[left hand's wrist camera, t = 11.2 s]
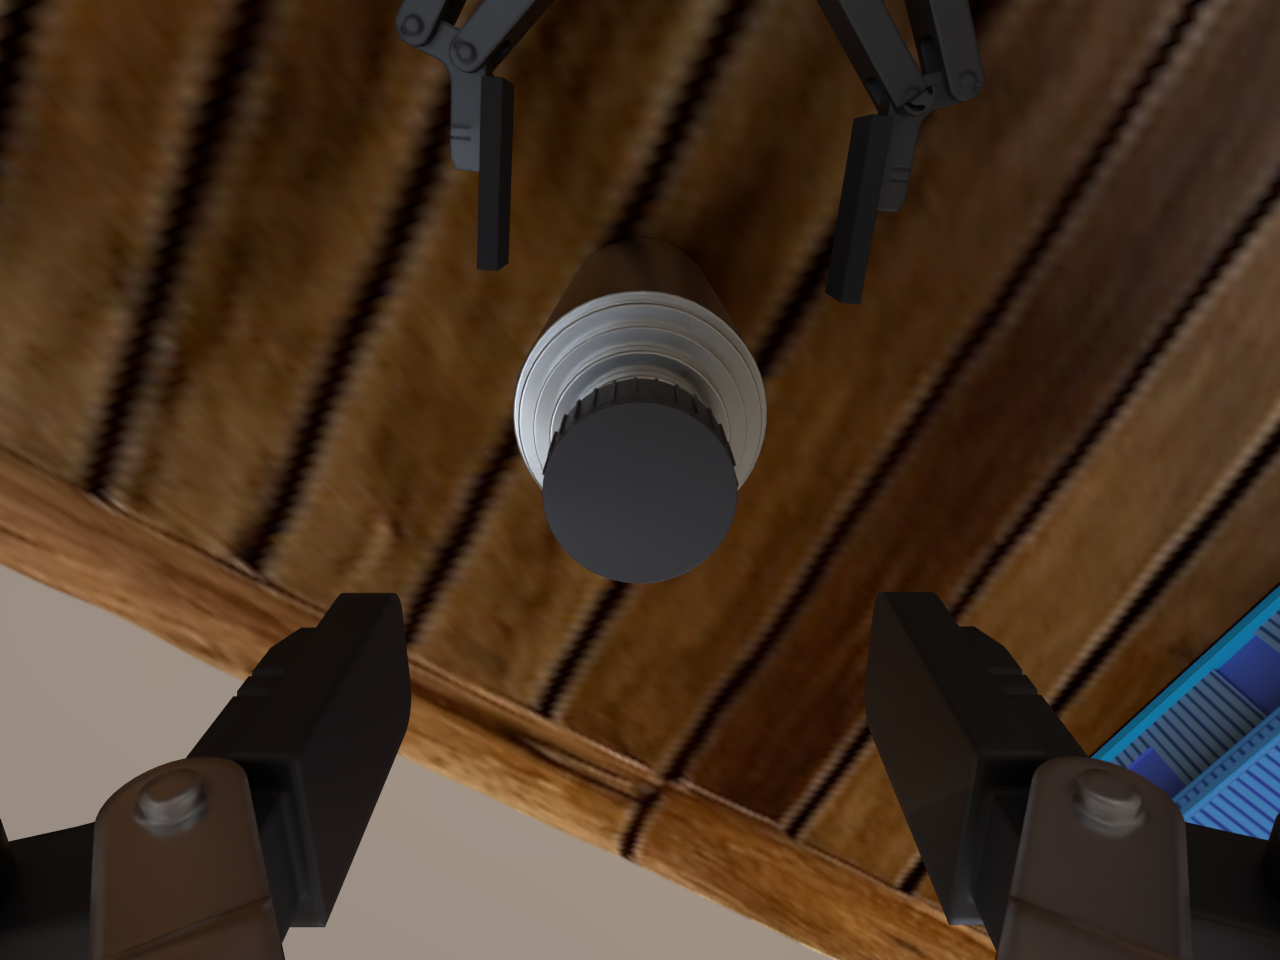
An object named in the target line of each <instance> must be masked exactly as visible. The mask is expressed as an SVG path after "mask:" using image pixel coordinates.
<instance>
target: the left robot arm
mask: <svg viewBox="0 0 1280 960" xmlns="http://www.w3.org/2000/svg"><path fill="white" fill-rule="evenodd" d="M410 709H411V683H410V674H409V666H408V657H407V648H406V640H405V631H404V622H403V614H402V607H401V602H400V599H399V597H398V595H397V594H395V593H342V594H340V595H339V596H338V597H337V599H336V600H335V601H334V603H333V604H332V606H331V607H330V609H329V610H328V611H327V613H326V614H325V616H324V617H323V618H322V620H321V621H320V623H319V624H318V626H317V627H316V628H300V629H298V630H297V631H295V632H294V633H292V634H291V635H289V636H288V637H286V638H285V639H283V640H282V641H280V642H279V643H277V644H276V645H274V646H273V647H271V648H270V649H269V651H268V652H267V653H266V655H265V656H264V657H263V658H262V660H261V661H260V662H259V664H258V665H257V666H256V668H255V669H254V670H253V671H252V676H249V677H248V678H247V679H246V681H245V682H244V683H243V684H242V686H241V687H240V688H239V690H238V691H237V696H233V698H232V699H231V700H230V701H229V703H228V704H227V705H226V707H225V708H224V709H223V710H222V712H221V713H220V714H219V716H218V717H217V718H216V720H215V721H214V722H213V723H212V725H211V726H210V728H209V729H208V730H207V731H206V733H205V734H204V735H203V736H202V738H201V739H200V740H199V742H198V743H197V744H196V746H195V747H194V748H193V750H192V751H191V752H190V753H189V755H188V756H187V757H186V759H181V760H177V761H173V762H170V763H167V764H164V765H161V766H158V767H156V768H153V769H151V770H149V771H147V772H145V773H143V774H141V775H139V776H137V777H135V778H134V779H132V780H131V781H129V782H128V783H126V784H125V785H123V786H122V787H121V788H120V789H118V790H117V791H116V792H115V793H114V794H113V795H112V796H111V797H110V798H109V799H108V800H107V801H106V802H105V804H104V805H103V806H102V808H101V809H100V811H99V813H98V815H97V817H96V821H95V822H92V823H89V824H85V825H81V826H77V827H73V828H68V829H64V830H59V831H55V832H50V833H46V834H41V835H37V836H32V837H28V838H23V839H19V840H14V841H10V842H8V839H7V836H6V833H5V830H4V827H3V824H2V822H1V819H0V960H285V957H284V952H283V947H282V942H283V940H284V938H285V936H286V934H287V931H288V929H289V927H325V926H326V923H327V921H328V919H329V916H330V914H331V911H332V909H333V907H334V904H335V902H336V899H337V897H338V894H339V892H340V890H341V887H342V885H343V882H344V880H345V878H346V875H347V873H348V870H349V868H350V866H351V863H352V861H353V858H354V856H355V854H356V851H357V849H358V846H359V844H360V841H361V839H362V837H363V834H364V832H365V829H366V827H367V825H368V822H369V820H370V817H371V815H372V813H373V810H374V808H375V805H376V803H377V801H378V798H379V796H380V793H381V791H382V788H383V786H384V784H385V781H386V779H387V776H388V774H389V772H390V769H391V767H392V764H393V762H394V759H395V757H396V755H397V752H398V750H399V747H400V745H401V743H402V740H403V738H404V735H405V733H406V730H407V726H408V722H409V717H410ZM865 709H866V716H867V721H868V726H869V729H870V732H871V735H872V737H873V740H874V742H875V744H876V747H877V749H878V752H879V754H880V757H881V759H882V762H883V764H884V766H885V769H886V771H887V774H888V776H889V779H890V781H891V784H892V786H893V788H894V791H895V793H896V796H897V798H898V801H899V803H900V806H901V808H902V811H903V813H904V815H905V818H906V820H907V823H908V825H909V828H910V830H911V833H912V835H913V837H914V840H915V842H916V845H917V847H918V850H919V852H920V855H921V857H922V860H923V862H924V864H925V867H926V869H927V872H928V874H929V877H930V879H931V882H932V884H933V886H934V889H935V891H936V894H937V896H938V899H939V901H940V904H941V906H942V908H943V911H944V913H945V916H946V918H947V921H948V923H949V925H985V927H986V930H987V932H988V934H989V936H990V938H991V941H992V943H993V945H994V947H995V949H996V957H995V960H1280V812H1279V813H1278V815H1277V816H1276V819H1275V822H1274V824H1273V827H1272V830H1271V833H1270V836H1269V839H1268V840H1265V839H1260V838H1256V837H1251V836H1247V835H1242V834H1238V833H1233V832H1229V831H1224V830H1219V829H1215V828H1210V827H1206V826H1201V825H1197V824H1193V823H1189V822H1185V821H1184V817H1183V815H1182V813H1181V811H1180V809H1179V808H1178V806H1177V805H1176V804H1175V802H1174V801H1173V800H1172V799H1171V798H1170V797H1169V796H1168V795H1167V794H1166V793H1165V792H1164V791H1163V790H1162V789H1160V788H1159V787H1158V786H1157V785H1155V784H1154V783H1152V782H1151V781H1149V780H1148V779H1146V778H1145V777H1143V776H1141V775H1139V774H1137V773H1135V772H1133V771H1131V770H1129V769H1127V768H1124V767H1122V766H1119V765H1116V764H1113V763H1110V762H1107V761H1103V760H1099V759H1094V758H1089V757H1088V756H1087V755H1086V753H1085V752H1084V751H1083V749H1082V748H1081V747H1080V745H1079V744H1078V743H1077V741H1076V740H1075V739H1074V738H1073V736H1072V735H1071V734H1070V732H1069V731H1068V730H1067V728H1066V727H1065V726H1064V724H1063V723H1062V722H1061V720H1060V719H1059V718H1058V716H1057V715H1056V714H1055V713H1054V711H1053V710H1052V709H1051V707H1050V706H1049V705H1048V703H1047V702H1046V701H1045V699H1044V698H1043V697H1042V695H1038V694H1037V689H1036V688H1035V686H1034V685H1033V684H1032V682H1031V681H1030V680H1029V678H1028V677H1027V676H1026V675H1023V674H1022V669H1021V668H1020V667H1019V665H1018V664H1017V663H1016V661H1015V660H1014V659H1013V657H1012V656H1011V655H1010V653H1009V652H1008V651H1007V649H1006V648H1005V647H1004V646H1003V645H1001V644H1000V643H998V642H997V641H995V640H994V639H992V638H991V637H989V636H988V635H986V634H985V633H983V632H982V631H980V630H979V629H977V628H976V627H959V626H958V624H957V623H956V622H955V620H954V619H953V617H952V616H951V614H950V613H949V611H948V610H947V609H946V607H945V606H944V604H943V603H942V601H941V600H940V599H939V597H938V596H937V595H936V594H935V593H934V592H880V593H879V594H878V595H877V597H876V600H875V604H874V610H873V619H872V628H871V637H870V646H869V655H868V663H867V672H866V681H865Z"/></svg>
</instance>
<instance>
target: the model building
mask: <svg viewBox="0 0 1280 960" xmlns="http://www.w3.org/2000/svg"><path fill="white" fill-rule="evenodd" d="M1091 758H1094V759H1099V760H1103V761H1107V762H1110V763H1113V764H1116V765H1119V766H1122V767H1124V768H1127V769H1129V770H1131V771H1133V772H1135V773H1137V774H1139V775H1141V776H1143V777H1145V778H1146V779H1148V780H1149V781H1151V782H1152V783H1154V784H1155V785H1157V786H1158V787H1159V788H1160V789H1162V790H1163V791H1164V792H1165V793H1166V794H1167V795H1168V796H1169V797H1170V798H1171V799H1172V800H1173V801H1174V802H1175V804H1176V805H1177V806H1178V808H1179V809H1180V811H1181V813H1182V815H1183V817H1184V821H1185V822H1189V823H1193V824H1197V825H1201V826H1206V827H1210V828H1215V829H1219V830H1224V831H1229V832H1233V833H1238V834H1242V835H1247V836H1251V837H1256V838H1260V839H1265V840H1268V839H1269V836H1270V833H1271V830H1272V827H1273V824H1274V822H1275V819H1276V816H1277V815H1278V813H1279V812H1280V585H1279V586H1278V587H1277V588H1276V589H1275V590H1274V591H1273V592H1272V593H1271V594H1269V595H1268V596H1267V597H1266V598H1265V599H1264V600H1263V601H1262V602H1261V603H1260V604H1259V605H1257V606H1256V607H1255V608H1254V609H1253V610H1252V611H1251V612H1250V613H1249V614H1248V615H1246V616H1245V617H1244V618H1243V619H1242V620H1241V621H1240V622H1239V623H1238V624H1237V625H1236V626H1234V627H1233V628H1232V629H1231V630H1230V631H1229V632H1228V633H1227V634H1226V635H1225V636H1223V637H1222V638H1221V639H1220V640H1219V641H1218V642H1217V643H1216V644H1215V645H1214V646H1212V647H1211V648H1210V649H1209V650H1208V651H1207V652H1206V653H1205V654H1204V655H1203V656H1202V657H1200V658H1199V659H1198V660H1197V661H1196V662H1195V663H1194V664H1193V665H1192V666H1191V667H1189V668H1188V669H1187V670H1186V671H1185V672H1184V673H1183V674H1182V675H1181V676H1180V677H1179V678H1177V679H1176V680H1175V681H1174V682H1173V683H1172V684H1171V685H1170V686H1169V687H1168V688H1166V689H1165V690H1164V691H1163V692H1162V693H1161V694H1160V695H1159V696H1158V697H1157V698H1156V699H1154V700H1153V701H1152V702H1151V703H1150V704H1149V705H1148V706H1147V707H1146V708H1145V709H1143V710H1142V711H1141V712H1140V713H1139V714H1138V715H1137V716H1136V717H1135V718H1134V719H1133V720H1131V721H1130V722H1129V723H1128V724H1127V725H1126V726H1125V727H1124V728H1123V729H1122V730H1120V731H1119V732H1118V733H1117V734H1116V735H1115V736H1114V737H1113V738H1112V739H1111V740H1109V741H1108V742H1107V743H1106V744H1105V745H1104V746H1103V747H1102V748H1101V749H1100V750H1099V751H1097V752H1096V753H1095V754H1094V755H1093V756H1092V757H1091Z"/></svg>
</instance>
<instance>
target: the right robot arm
mask: <svg viewBox="0 0 1280 960" xmlns="http://www.w3.org/2000/svg"><path fill="white" fill-rule="evenodd" d="M553 1H554V0H484V1H483V3H482V4H481V5H480V6H479V7H478V9H477V10H476V11H475V12H474V13H473V15H472V16H471V17H470V18H469V19H468V21H467V22H466V23H465V24H464V25H463V27H462V28H461V29H459V28H457V27H455V26H454V25H455V23H456V21H457V19H458V17H459V15H460V13H461V10H462V8H463V6H464V4H465V2H466V0H404V1H403V3H402V5H401V7H400V10H399V12H398V14H397V17H396V21H395V25H396V31H397V33H398V35H399V37H400V38H401V39H402V40H403V41H404V42H405V43H407V44H409V45H411V46H412V47H414V48H416V49H418V50H420V51H422V52H424V53H426V54H428V55H430V56H432V57H434V58H436V59H438V60H439V61H441V62H442V63H443V64H444V65H445V67H446V68H447V70H448V72H449V75H450V78H451V153H450V155H451V157H452V160H453V163H454V166H455V169H456V170H464V171H474V172H479V205H478V255H477V269H481V270H492V271H498V270H500V269H501V268H502V267H504V266H505V265H506V264H508V257H509V227H510V197H511V167H512V136H513V106H514V85H513V84H512V83H510V82H509V81H507V80H506V79H504V78H501V77H494V75H493V74H492V72H493V71H494V70H495V69H496V67H497V66H498V65H499V64H500V63H501V62H502V60H503V59H504V58H505V57H506V56H507V55H508V53H509V52H510V51H511V50H512V49H513V48H514V46H515V45H516V44H517V43H518V42H519V41H520V39H521V38H522V37H523V36H524V35H525V34H526V32H527V31H528V30H529V29H530V28H531V27H532V25H533V24H534V23H535V22H536V21H537V20H538V18H539V17H540V16H541V15H542V14H543V13H544V11H545V10H546V9H547V8H548V7H549V6H550V4H551V3H552V2H553ZM817 1H818V3H819V5H820V7H821V9H822V10H823V12H824V14H825V16H826V18H827V20H828V21H829V23H830V25H831V27H832V29H833V30H834V32H835V34H836V36H837V38H838V39H839V41H840V43H841V45H842V47H843V49H844V50H845V52H846V54H847V56H848V58H849V59H850V61H851V63H852V65H853V67H854V69H855V70H856V72H857V74H858V76H859V78H860V79H861V81H862V83H863V85H864V87H865V89H866V90H867V92H868V94H869V96H870V98H871V99H872V101H873V103H874V105H875V107H876V108H877V110H878V115H874V114H872V115H868V116H864V117H859V118H855V119H854V122H853V128H852V134H851V140H850V146H849V152H848V158H847V164H846V170H845V176H844V182H843V188H842V194H841V200H840V206H839V212H838V218H837V224H836V230H835V236H834V242H833V248H832V254H831V260H830V266H829V272H828V278H827V284H826V290H825V293H827V294H828V295H830V296H831V297H833V298H834V299H836V300H837V301H839V302H840V303H851V304H860V301H861V295H862V290H863V284H864V279H865V273H866V268H867V262H868V257H869V251H870V246H871V240H872V235H873V229H874V224H875V218H876V213H877V210H882V211H893V212H898V211H899V209H900V207H901V205H902V204H903V202H904V200H905V199H906V194H907V189H908V184H909V179H910V174H911V168H912V163H913V158H914V153H915V148H916V142H917V137H918V132H919V128H920V125H921V123H922V121H923V119H924V118H925V117H926V116H927V115H928V114H929V113H930V112H932V111H933V110H936V109H938V108H942V107H945V106H949V105H953V104H956V103H960V102H963V101H967V100H971V99H973V98H974V97H976V96H977V95H978V94H979V93H980V92H981V90H982V88H983V85H984V71H983V67H982V62H981V58H980V53H979V48H978V44H977V39H976V35H975V30H974V26H973V21H972V17H971V12H970V8H969V3H968V0H905V4H906V8H907V12H908V16H909V20H910V24H911V28H912V32H913V36H914V40H915V45H916V49H917V53H918V57H919V61H920V65H921V69H922V73H923V75H922V74H921V73H920V71H919V69H918V67H917V65H916V63H915V61H914V59H913V57H912V55H911V54H910V52H909V50H908V48H907V46H906V44H905V42H904V40H903V38H902V36H901V35H900V33H899V31H898V29H897V27H896V25H895V23H894V21H893V19H892V17H891V15H890V14H889V12H888V10H887V8H886V6H885V4H884V2H883V0H817Z"/></svg>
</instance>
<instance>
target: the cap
mask: <svg viewBox="0 0 1280 960" xmlns="http://www.w3.org/2000/svg"><path fill="white" fill-rule="evenodd" d="M547 455H548V456H547V459H546V462H545V465H544V469H543V472H542V475H544V478H543V488H542V497H543V507H544V511H545V515H546V519H547V521H548V524H549V527H550V529H551V531H552V533H553V534H554V536H555V538H556V540H557V541H558V542H559V544H560V545H561V546H562V548H563V549H564V550H565V551H566V552H567V553H568V554H569V555H570V556H571V557H572V558H573V559H574V560H576V561H577V562H578V563H579V564H581V565H582V566H584V567H585V568H587V569H588V570H590V571H592V572H594V573H596V574H598V575H601V576H603V577H606V578H609V579H612V580H616V581H621V582H628V583H652V582H659V581H664V580H667V579H671V578H674V577H677V576H679V575H682V574H684V573H686V572H688V571H690V570H691V569H693V568H695V567H696V566H698V565H699V564H700V563H702V562H703V561H705V560H706V559H707V558H708V557H709V556H710V555H711V554H712V553H713V552H714V551H715V550H716V549H717V547H718V546H719V545H720V544H721V542H722V541H723V539H724V538H725V536H726V534H727V533H728V531H729V528H730V526H731V524H732V522H733V518H734V515H735V511H736V506H737V499H738V486H739V483H738V480H737V477H736V473H735V470H734V466H736V463H735V460H734V456H733V453H732V450H731V447H730V444H729V441H727V438H726V435H725V432H724V429H723V426H722V424H721V423H720V424H718V422H717V421H716V419H715V417H714V416H713V413H712V409H711V408H710V407H708V408H707V407H706V406H705V405H704V404H703V403H702V402H700V401H699V400H698V399H697V395H695V394H693V395H691V394H690V393H689V392H687V391H685V390H683V389H681V388H679V385H678V384H675V385H672V384H669V383H666V382H662V381H659V380H658V378H655V379H654V380H650V379H637V377H633V379H629V380H623V381H618V382H617V381H616V380H614V381H613V382H612V383H611V384H608V385H605V386H603V387H601V388H599V389H597V388H594V389H593V392H592V393H590V394H588V395H587V396H585V397H584V398H583V399H582V400H580V399H578V400H577V401H576V405H575V406H574V407H573V408H572V409H571V411H570V412H569V413H568V414H567V415H566V414H564V416H563V418H562V421H561V425H560V428H559V430H558V432H557V431H555V432H554V435H553V438H552V441H551V444H550V447H549V450H548V453H547Z"/></svg>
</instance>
